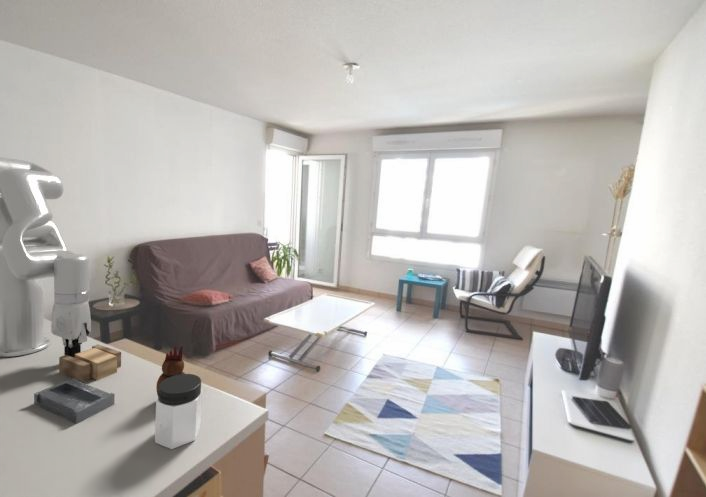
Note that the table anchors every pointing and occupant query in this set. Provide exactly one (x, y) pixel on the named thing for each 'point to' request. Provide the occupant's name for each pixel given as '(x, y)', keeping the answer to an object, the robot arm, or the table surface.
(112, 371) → the cardboard-coloured box
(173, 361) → the wooden figurine
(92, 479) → the table surface
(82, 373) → the wooden blocks
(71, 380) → the grey shallow tray
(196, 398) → the jar
